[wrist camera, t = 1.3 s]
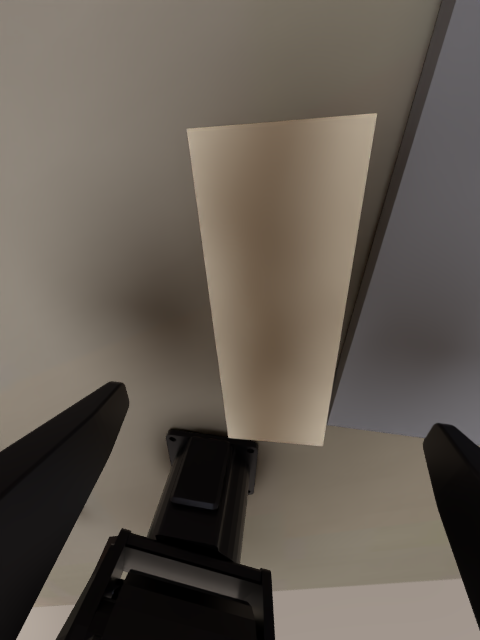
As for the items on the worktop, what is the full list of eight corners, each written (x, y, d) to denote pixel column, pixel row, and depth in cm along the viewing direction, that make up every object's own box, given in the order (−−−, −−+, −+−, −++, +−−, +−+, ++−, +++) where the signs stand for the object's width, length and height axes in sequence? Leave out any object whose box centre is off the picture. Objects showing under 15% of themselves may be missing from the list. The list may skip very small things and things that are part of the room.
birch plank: (353, 119, 10) (377, 113, 7) (317, 401, 17) (322, 446, 15) (210, 131, 10) (186, 128, 8) (236, 395, 18) (228, 437, 15)
